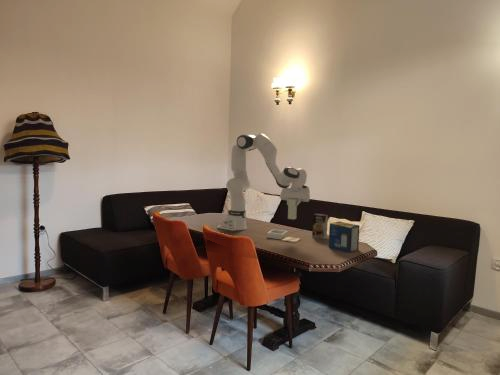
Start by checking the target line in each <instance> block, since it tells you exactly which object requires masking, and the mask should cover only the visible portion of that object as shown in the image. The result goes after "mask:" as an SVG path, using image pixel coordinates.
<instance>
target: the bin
mask: <svg viewBox="0 0 500 375" xmlns="http://www.w3.org/2000/svg"><path fill="white" fill-rule="evenodd" d="M288 232H289V231H288V230H282V229H281V230H280V229H275V228H274V229H271V230H270V231H268V232H266V238H269V239H277V240H282V239H284V238H285V237H289V236H288Z"/></svg>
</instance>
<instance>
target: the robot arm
mask: <svg viewBox="0 0 500 375" xmlns="http://www.w3.org/2000/svg"><path fill="white" fill-rule="evenodd" d="M256 149H257V150H258V151H259V153H260V154H261V155H262V158H263V159H264V161H265V164H266V167H267V168H268V170H269V171H270V173H271V175H272V177H273V178H274V180H275V182H276V185H277V186H278V187H279V188H281V192H280V195H279V199H280V200H281V201H282V200H283V201H286V205H287V206H288V201H289V199H297V202H296V204H295V205H296V206H297V207H298V206H299V205H300V203H301V202H303V203H304V202H306V203H309V202H310V198H311V195H310V194H311V192H310V188H309V186H308V185H305V184H306V183H307V178H308V174H307V171H306V170H305V169H303V168H294V167H291V166H286V167H284V169H283V170H282V171H281V170H280V168H279V167H278V165H277V162H276V160H277V154H278V152H277V151H278V149H277V147H276V146H275V144H274V143H273V142H272V140H271V139H270V138H269V137H268V136H266V135H265V134H264V133H258V134H257V135H254V134H250V133H249V134H240V135H239V136H238V137H237V139H236V144H234V145H233V146H232V149H231V155H230V156H231V161H230V165H231V166H230V168H231V171H232V173H233V177H232V178H230V179H229V180H228V181H227V182H226V185H225V186H226V189H227V191H228V193H229V196H230V197H229V198H230V209H229V210H227V213H228V214H227V215H225V216H224V217H223V218H222V219H221V221H220V224H219V225H217V229H222V230H226V231H233V232H234V231H244V230H245V231H246V230H247V229H248V227H247V223H246V222H247V221H246V216H247V213H246V211H247V210H246V198H245V196H244V191H247V190H248V189H249V188H250V186H251V181H250V179H249V177H248V176H249V175H248V173H247V172H248V171H247V152H250V151H254V150H256ZM289 187H290V188H289Z"/></svg>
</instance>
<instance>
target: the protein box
mask: <svg viewBox="0 0 500 375" xmlns="http://www.w3.org/2000/svg"><path fill="white" fill-rule="evenodd" d="M360 226H361V225H360V224H355V223H348V222H343V221H334V222H329V232H328V248H330V249H335V250H338V251H341V252H345V253H352V252H355V251H359V243H360V242H359V241H360Z"/></svg>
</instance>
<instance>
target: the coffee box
mask: <svg viewBox="0 0 500 375" xmlns="http://www.w3.org/2000/svg"><path fill="white" fill-rule="evenodd" d="M312 215H313V216H312V217H313V218H312V234H311V235H312V236H311V238H316V239H326V238H328V237H327V236H328V220H329V215H328V214H324V213H314V214H312Z"/></svg>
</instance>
